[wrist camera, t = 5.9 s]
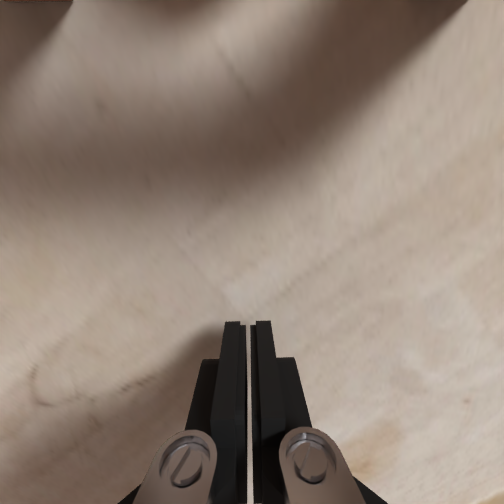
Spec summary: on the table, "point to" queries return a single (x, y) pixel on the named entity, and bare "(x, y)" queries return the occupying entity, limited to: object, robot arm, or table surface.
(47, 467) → the table surface
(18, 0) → the bridge
